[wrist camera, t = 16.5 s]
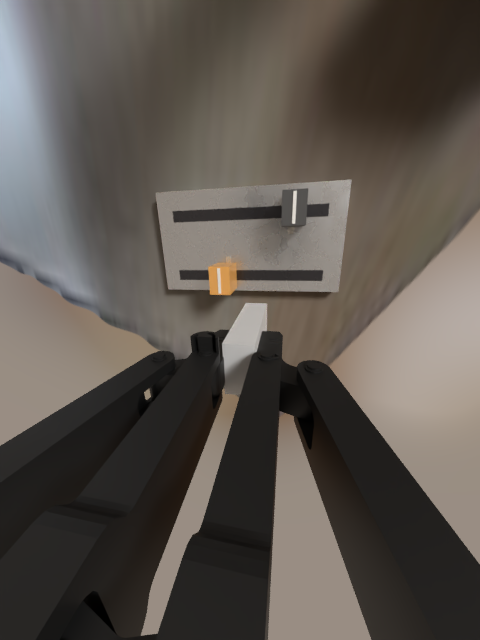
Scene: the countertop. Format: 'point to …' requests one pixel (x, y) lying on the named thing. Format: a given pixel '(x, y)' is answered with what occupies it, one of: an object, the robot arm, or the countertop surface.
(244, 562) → the robot arm
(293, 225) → the black fader
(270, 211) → the panel
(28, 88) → the countertop surface
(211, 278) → the orange fader
